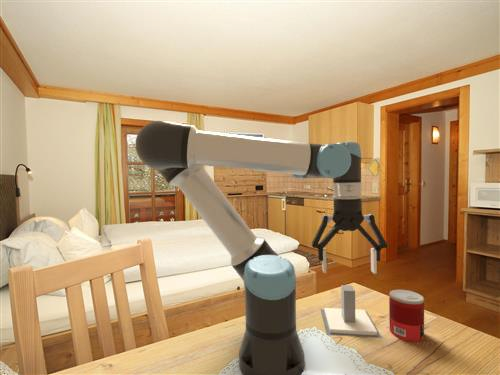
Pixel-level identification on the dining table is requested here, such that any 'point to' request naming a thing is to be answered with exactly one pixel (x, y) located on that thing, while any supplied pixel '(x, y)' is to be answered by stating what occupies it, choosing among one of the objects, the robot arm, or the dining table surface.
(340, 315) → the lid
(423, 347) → the dining table surface
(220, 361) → the dining table surface
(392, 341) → the dining table surface
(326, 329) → the mat
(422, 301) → the canned food
